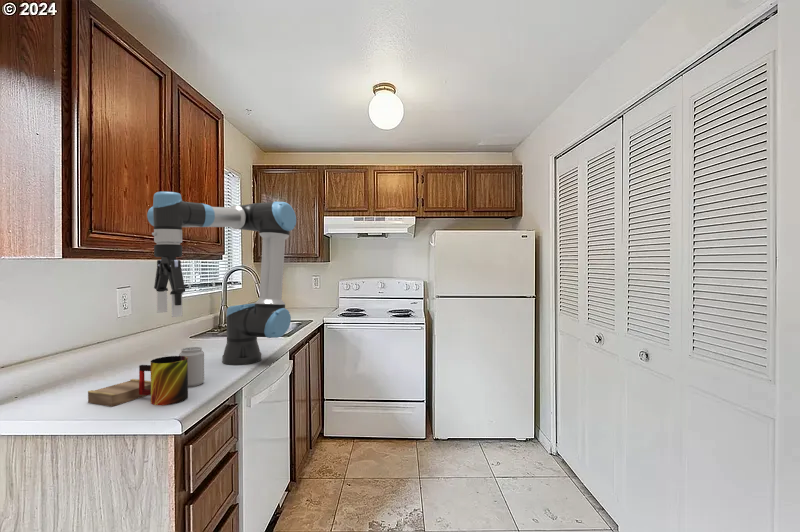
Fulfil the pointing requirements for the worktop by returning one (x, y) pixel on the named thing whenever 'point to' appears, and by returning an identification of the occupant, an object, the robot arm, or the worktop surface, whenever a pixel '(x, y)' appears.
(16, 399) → the worktop surface
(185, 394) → the mug
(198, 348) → the can
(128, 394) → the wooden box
